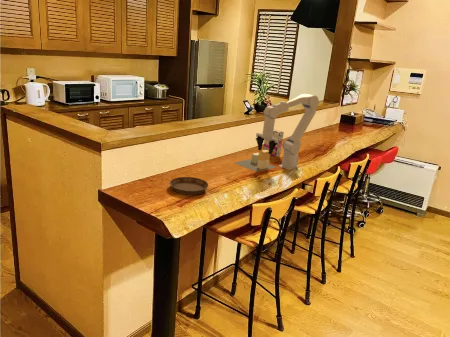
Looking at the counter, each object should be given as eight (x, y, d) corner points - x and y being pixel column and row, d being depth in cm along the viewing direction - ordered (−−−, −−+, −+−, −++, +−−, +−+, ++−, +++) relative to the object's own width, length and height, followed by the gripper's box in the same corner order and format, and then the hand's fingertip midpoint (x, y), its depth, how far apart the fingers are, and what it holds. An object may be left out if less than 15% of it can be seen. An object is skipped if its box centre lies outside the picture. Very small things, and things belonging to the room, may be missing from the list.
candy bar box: (280, 156, 240) (284, 131, 235) (275, 157, 236) (279, 132, 231) (266, 152, 247) (270, 127, 241) (262, 153, 243) (265, 128, 238)
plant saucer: (161, 188, 168) (161, 182, 167) (186, 179, 182) (186, 173, 181) (191, 200, 159) (191, 193, 158) (215, 190, 173) (216, 184, 172)
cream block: (263, 166, 215) (264, 157, 213) (268, 167, 212) (269, 159, 211) (256, 167, 211) (258, 159, 209) (261, 169, 208) (262, 161, 207)
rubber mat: (253, 159, 227) (253, 158, 227) (276, 167, 216) (277, 167, 215) (233, 163, 215) (233, 162, 215) (256, 172, 203) (257, 172, 203)
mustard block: (264, 157, 213) (265, 149, 212) (269, 159, 211) (270, 151, 209) (257, 159, 209) (259, 150, 207) (262, 160, 207) (263, 152, 205)
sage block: (257, 160, 224) (258, 152, 222) (261, 162, 222) (263, 154, 220) (250, 161, 220) (252, 153, 218) (255, 163, 218) (256, 155, 216)
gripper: (253, 125, 206) (250, 149, 210) (274, 131, 197) (270, 156, 201) (262, 125, 211) (258, 147, 215) (282, 130, 202) (278, 154, 206)
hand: (265, 151), depth 209 cm, fingers open, 7 cm apart
